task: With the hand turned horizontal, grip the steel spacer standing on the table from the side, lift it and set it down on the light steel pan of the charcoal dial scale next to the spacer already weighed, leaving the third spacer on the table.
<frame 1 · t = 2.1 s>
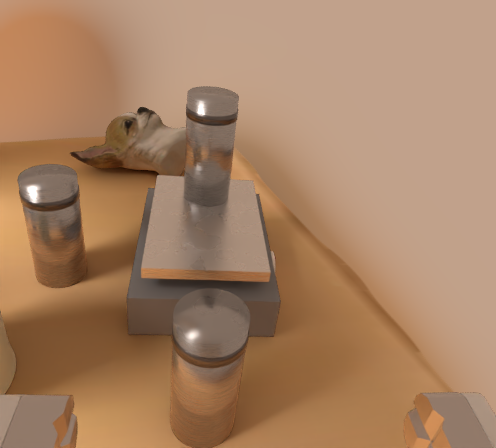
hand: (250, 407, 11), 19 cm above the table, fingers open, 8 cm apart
scale pan: (206, 221, 41), point 6 cm above the table, slide at -0.6 cm, touching spacer a
spacer b: (202, 418, 31), on the table
spacer c: (62, 271, 42), on the table
scale body: (202, 269, 45), on the table
spacer a: (206, 194, 44), point 6 cm above the table, touching scale pan
ceramic sculpture: (140, 169, 61), on the table
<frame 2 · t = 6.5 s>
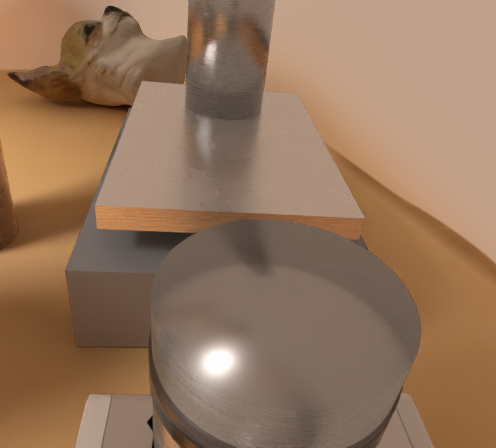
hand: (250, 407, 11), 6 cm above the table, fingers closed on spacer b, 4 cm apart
scale pan: (225, 142, 23), point 6 cm above the table, slide at -0.6 cm, touching spacer a
scale body: (217, 233, 26), on the table
spacer a: (223, 106, 26), point 6 cm above the table, touching scale pan
ceramic sculpture: (113, 106, 42), on the table
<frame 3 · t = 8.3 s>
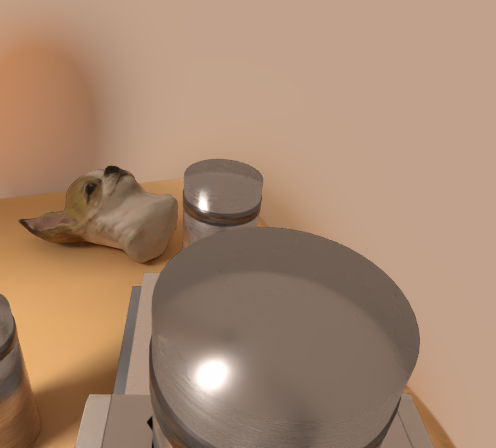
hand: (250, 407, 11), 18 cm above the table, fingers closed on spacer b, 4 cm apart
scale pan: (215, 359, 28), point 6 cm above the table, slide at -0.6 cm, touching spacer a
spacer c: (2, 433, 28), on the table
scale body: (210, 415, 31), on the table
spacer a: (213, 307, 31), point 6 cm above the table, touching scale pan
ceramic sculpture: (113, 241, 47), on the table
when the fingers open (12 cm above the table, at t = 10.4 s): spacer b stays where it is, resting on scale pan.
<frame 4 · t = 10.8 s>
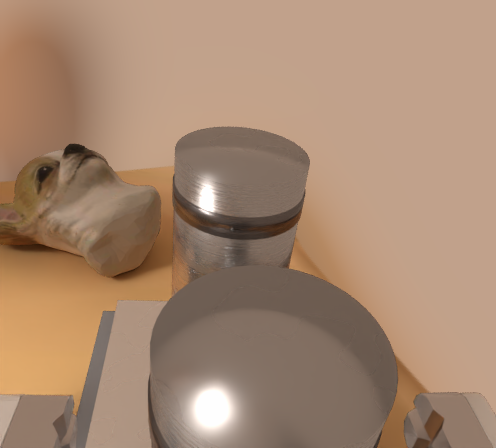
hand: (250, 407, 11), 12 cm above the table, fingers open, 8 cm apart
spacer a: (220, 356, 20), point 6 cm above the table, touching scale pan
ceramic sculpture: (80, 245, 36), on the table
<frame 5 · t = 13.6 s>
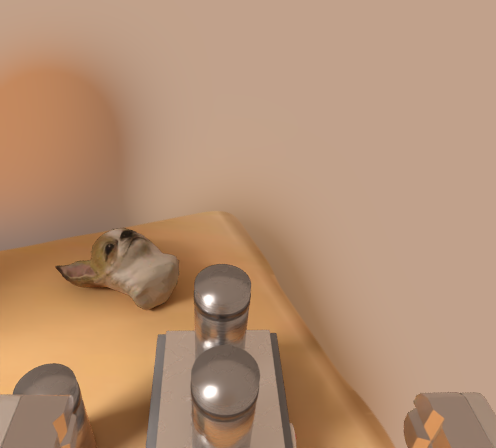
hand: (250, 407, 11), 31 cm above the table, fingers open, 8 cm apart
scale pan: (219, 404, 39), point 5 cm above the table, slide at -1.0 cm, touching spacer a, spacer b
scale body: (218, 435, 42), on the table
spacer a: (219, 361, 41), point 6 cm above the table, touching scale pan
ceramic sculpture: (130, 285, 56), on the table
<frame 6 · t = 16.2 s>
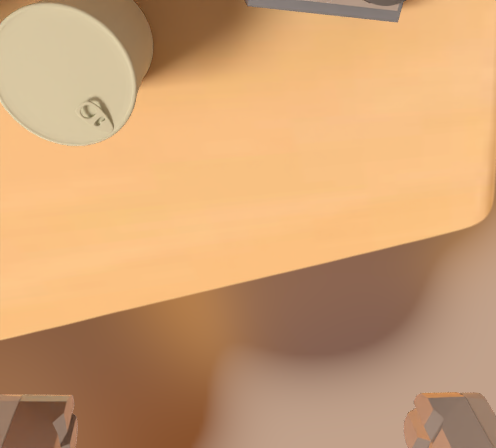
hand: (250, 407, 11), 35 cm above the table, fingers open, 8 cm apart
can: (98, 40, 39), on the table
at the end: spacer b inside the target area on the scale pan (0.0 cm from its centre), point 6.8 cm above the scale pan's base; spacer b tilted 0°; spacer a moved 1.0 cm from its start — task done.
